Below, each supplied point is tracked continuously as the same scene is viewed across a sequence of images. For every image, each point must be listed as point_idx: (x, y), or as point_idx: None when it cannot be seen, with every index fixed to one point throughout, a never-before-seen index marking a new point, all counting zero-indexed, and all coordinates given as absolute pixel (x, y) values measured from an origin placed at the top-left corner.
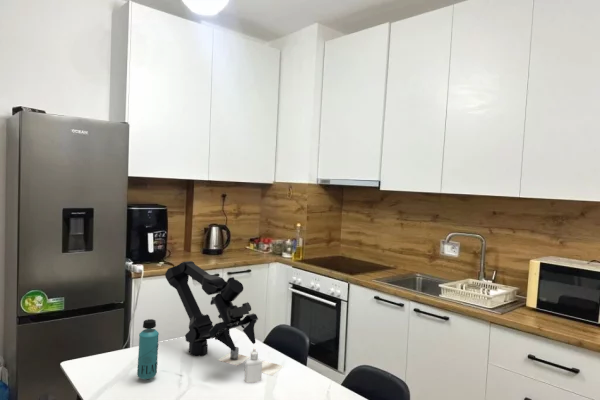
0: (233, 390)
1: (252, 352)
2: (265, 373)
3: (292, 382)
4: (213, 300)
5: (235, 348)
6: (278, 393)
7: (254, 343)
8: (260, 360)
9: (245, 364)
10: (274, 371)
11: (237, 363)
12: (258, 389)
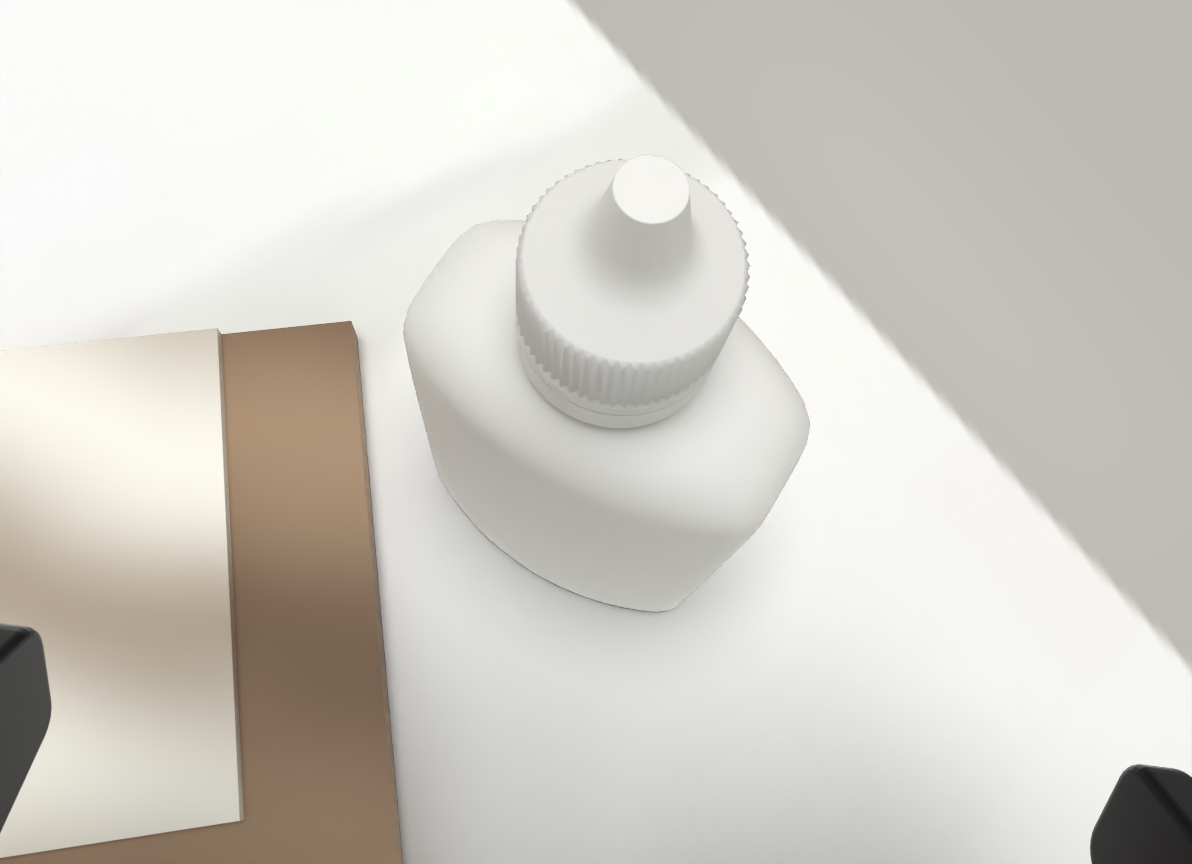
0: (961, 593)
1: (709, 273)
2: (219, 467)
3: (158, 48)
4: None
5: (1170, 780)
6: (573, 41)
7: (27, 669)
8: (503, 229)
9: (762, 521)
10: (44, 387)
11: None
12: None
